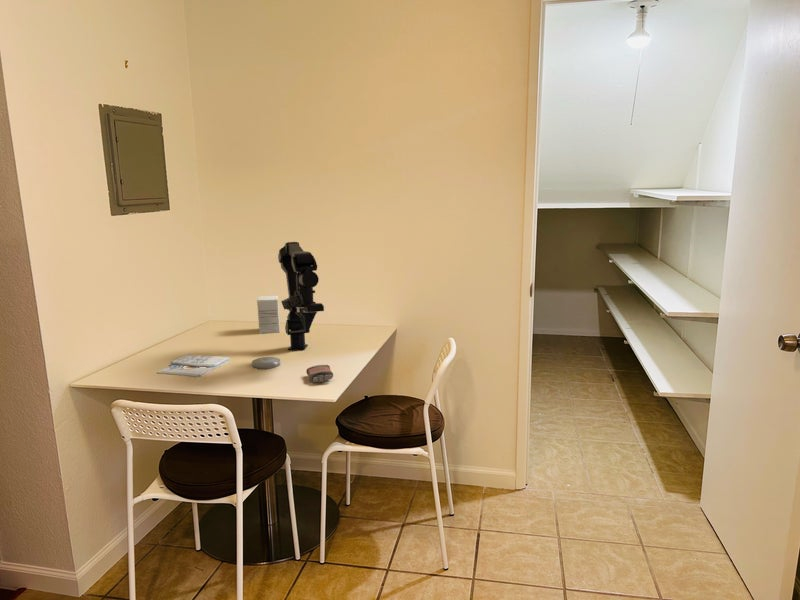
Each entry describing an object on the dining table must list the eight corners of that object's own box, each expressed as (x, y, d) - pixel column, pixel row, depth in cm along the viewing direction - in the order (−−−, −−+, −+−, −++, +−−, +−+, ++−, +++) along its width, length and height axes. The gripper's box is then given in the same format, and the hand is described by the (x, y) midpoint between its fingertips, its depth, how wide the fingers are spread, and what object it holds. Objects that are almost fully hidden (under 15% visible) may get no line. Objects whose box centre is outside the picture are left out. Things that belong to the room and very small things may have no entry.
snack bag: (232, 361, 223) (231, 356, 222) (199, 379, 204) (198, 373, 203) (188, 358, 228) (187, 352, 228) (152, 375, 209) (151, 369, 209)
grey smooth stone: (257, 360, 222) (256, 356, 221) (283, 360, 221) (283, 357, 221) (248, 369, 212) (247, 365, 212) (275, 369, 211) (275, 365, 211)
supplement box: (259, 328, 269) (257, 296, 266) (280, 327, 271) (278, 295, 268) (258, 333, 260) (256, 300, 257) (279, 332, 262) (277, 299, 259)
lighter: (306, 376, 204) (310, 386, 194) (305, 367, 203) (309, 376, 194) (330, 372, 206) (335, 382, 196) (329, 363, 205) (333, 372, 195)
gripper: (274, 289, 218) (276, 331, 219) (293, 288, 202) (295, 334, 203) (302, 287, 224) (304, 329, 225) (323, 287, 208) (325, 332, 209)
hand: (306, 331), depth 215 cm, fingers closed
